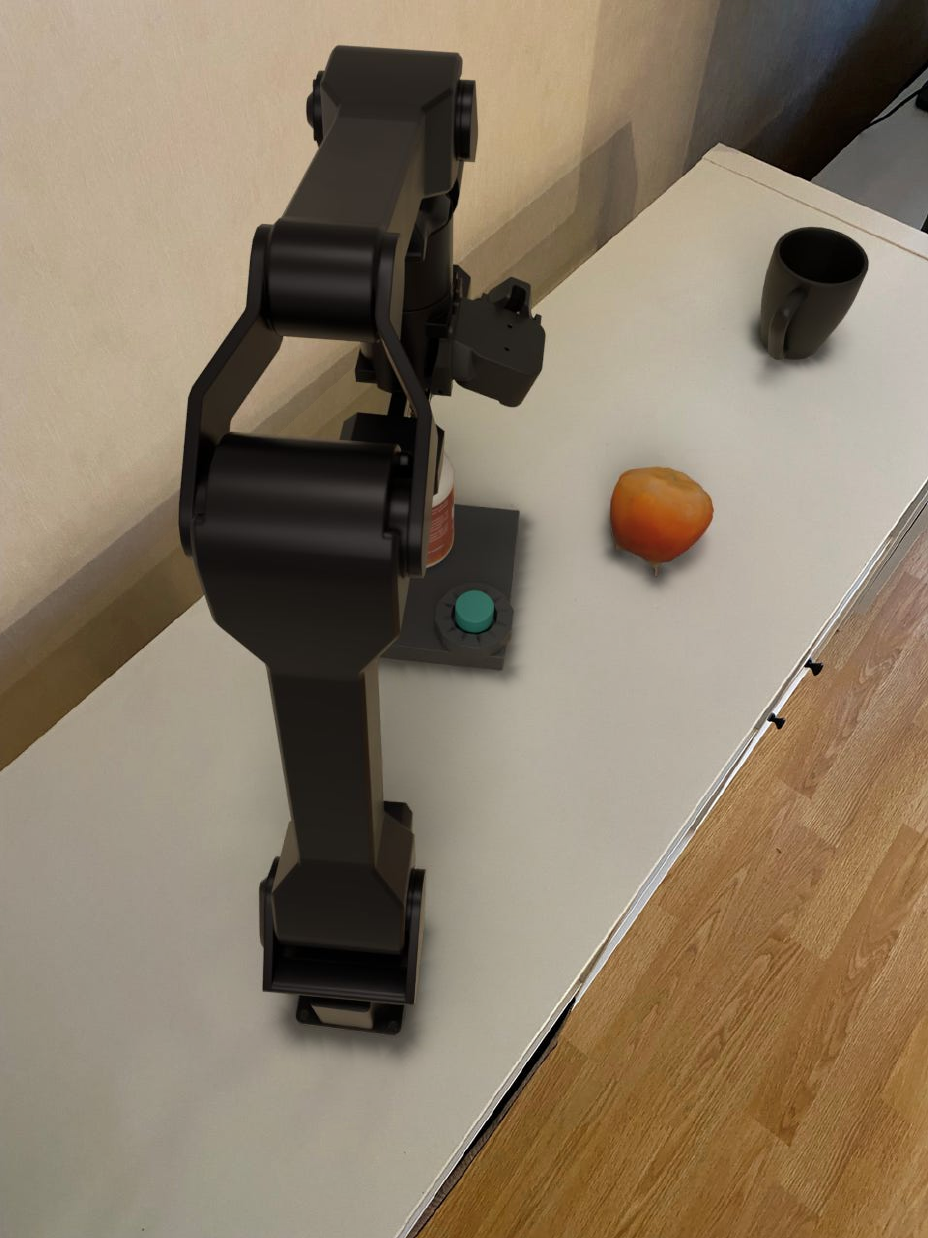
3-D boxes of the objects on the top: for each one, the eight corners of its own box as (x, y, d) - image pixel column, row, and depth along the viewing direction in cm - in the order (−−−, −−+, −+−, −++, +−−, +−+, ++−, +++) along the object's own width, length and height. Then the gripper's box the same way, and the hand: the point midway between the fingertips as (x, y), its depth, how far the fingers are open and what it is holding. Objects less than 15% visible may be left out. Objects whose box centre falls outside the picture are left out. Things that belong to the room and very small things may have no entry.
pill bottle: (469, 550, 76) (472, 454, 67) (402, 585, 74) (396, 492, 65) (427, 498, 79) (425, 400, 69) (361, 531, 77) (350, 434, 68)
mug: (712, 368, 90) (738, 284, 82) (769, 299, 96) (799, 214, 88) (792, 406, 88) (827, 323, 80) (846, 333, 93) (884, 249, 85)
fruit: (579, 559, 76) (612, 466, 73) (605, 531, 83) (637, 445, 79) (674, 600, 74) (714, 507, 71) (694, 567, 81) (730, 481, 77)
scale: (506, 675, 72) (509, 651, 69) (344, 657, 73) (339, 633, 70) (522, 525, 80) (525, 497, 77) (375, 509, 81) (372, 482, 78)
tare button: (491, 635, 71) (491, 624, 69) (453, 631, 71) (453, 619, 69) (494, 603, 72) (495, 591, 71) (457, 599, 72) (457, 587, 71)
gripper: (530, 409, 50) (512, 579, 64) (553, 192, 60) (533, 378, 73) (319, 389, 51) (345, 561, 64) (377, 177, 61) (389, 364, 74)
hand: (411, 460), depth 69 cm, fingers open, 9 cm apart
